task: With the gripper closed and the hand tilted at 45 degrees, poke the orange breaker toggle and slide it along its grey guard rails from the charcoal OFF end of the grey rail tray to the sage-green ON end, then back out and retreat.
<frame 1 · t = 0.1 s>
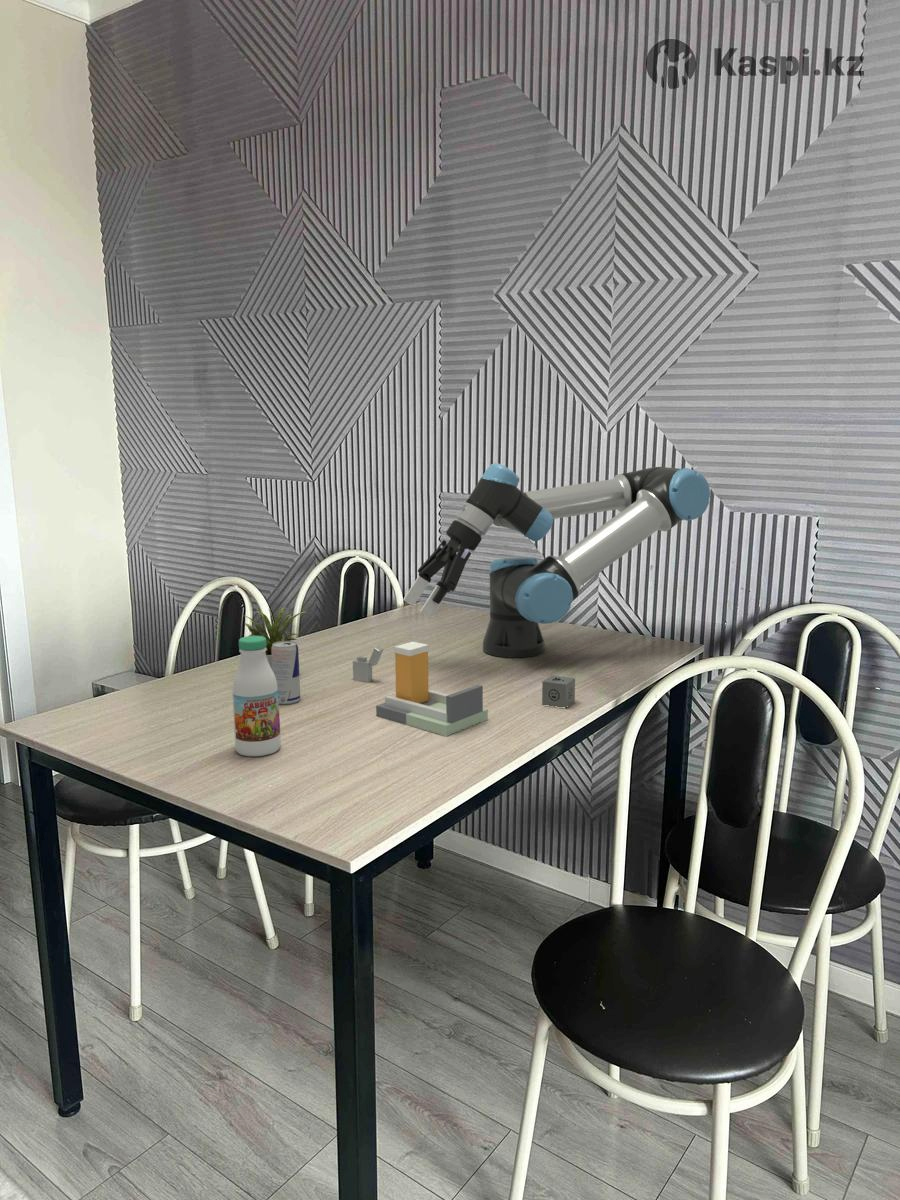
hand: (416, 608, 195), 15 cm above the table, tool tilted 35°, fingers open, 13 cm apart
house plant: (279, 677, 199), on the table
grey rail tray: (412, 712, 174), on the table
milk bottle: (258, 750, 155), on the table
breaker toggle: (412, 673, 172), point 8 cm above the table, slide at 0.0 cm
energy drink: (287, 701, 182), on the table
lighter: (368, 681, 195), on the table
dice cube: (558, 704, 178), on the table
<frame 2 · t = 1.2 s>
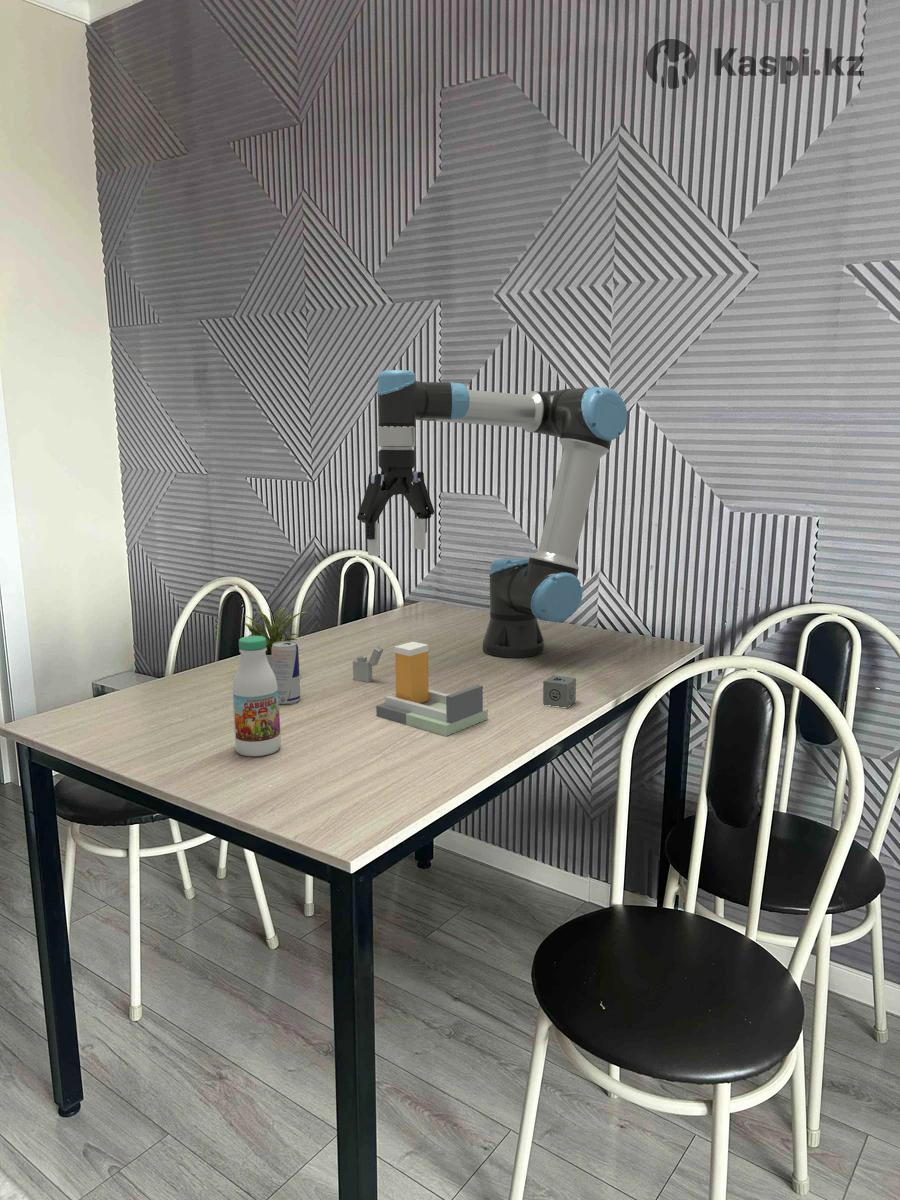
hand: (397, 552, 185), 29 cm above the table, tool pointing down, fingers open, 13 cm apart
nothing on the table moved.
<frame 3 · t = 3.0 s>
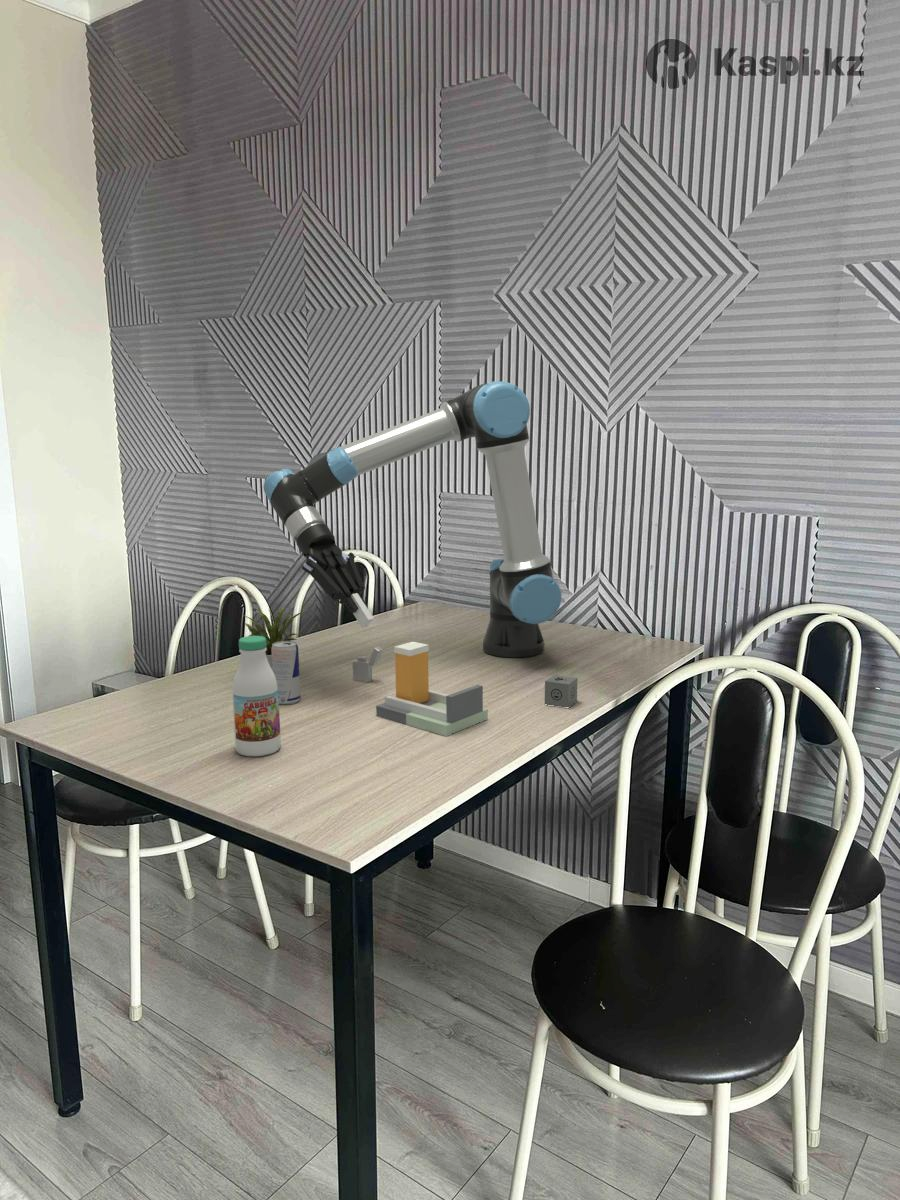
hand: (367, 622, 178), 16 cm above the table, tool tilted 45°, fingers closed
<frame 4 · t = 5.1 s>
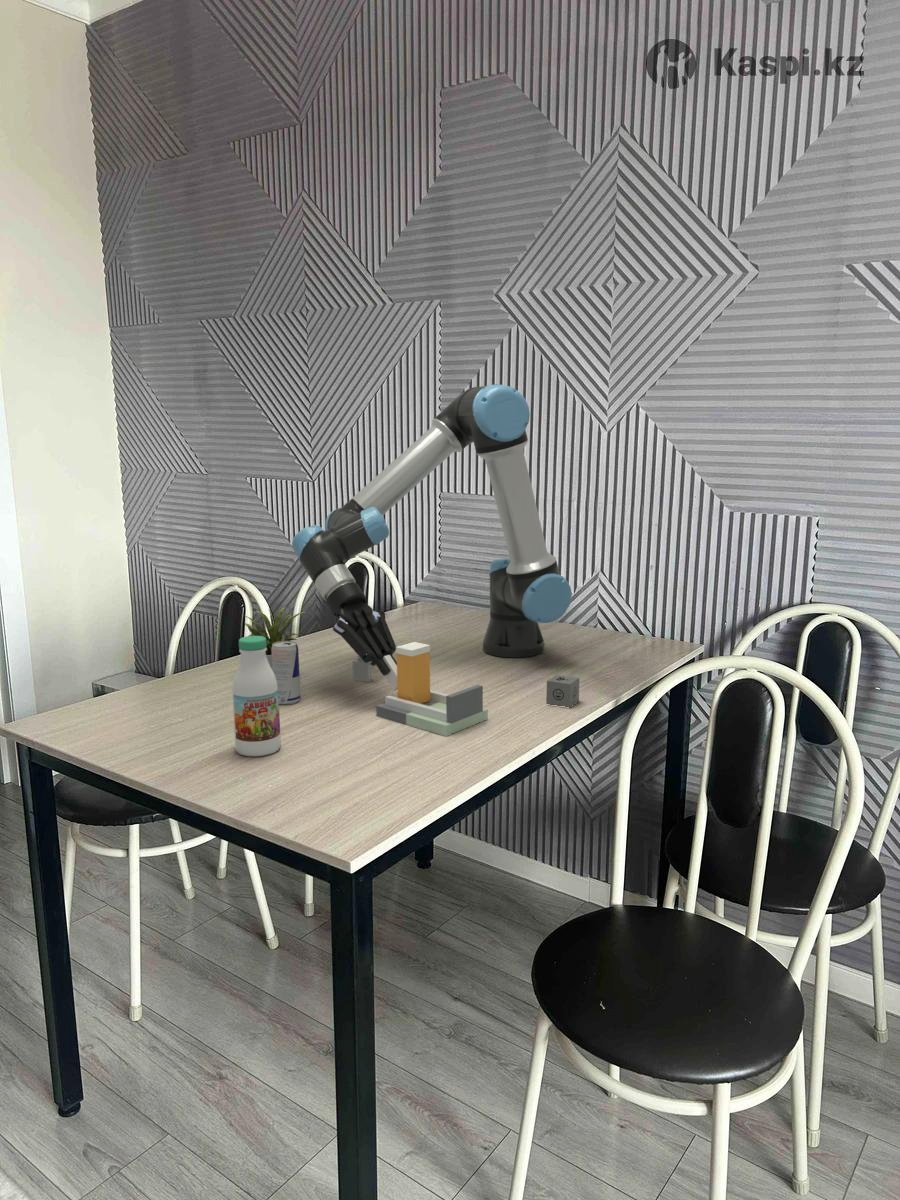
hand: (400, 685, 174), 5 cm above the table, tool tilted 45°, fingers closed
breaker toggle: (413, 674, 172), point 8 cm above the table, slide at 0.4 cm, touching gripper
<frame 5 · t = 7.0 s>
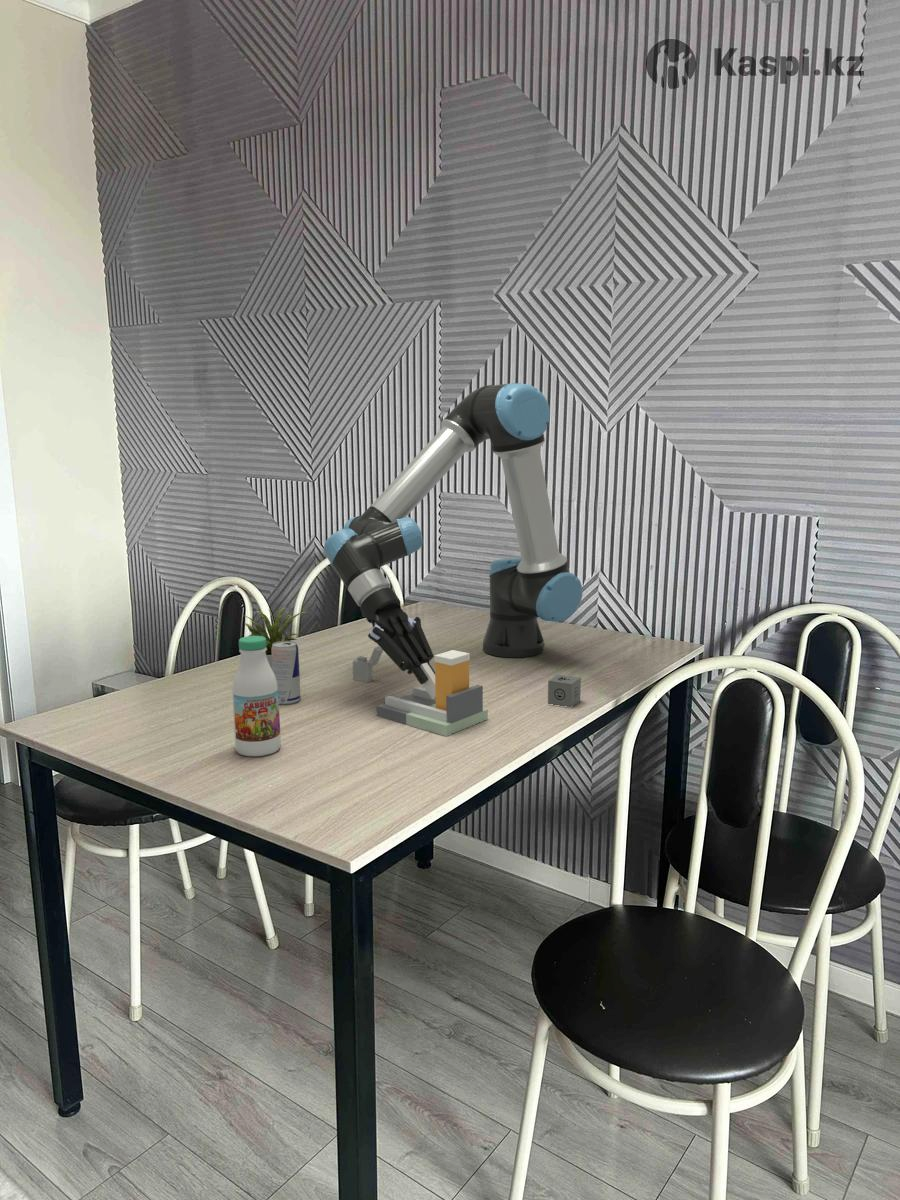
hand: (438, 694, 168), 5 cm above the table, tool tilted 45°, fingers closed
breaker toggle: (452, 683, 166), point 8 cm above the table, slide at 10.4 cm, touching gripper
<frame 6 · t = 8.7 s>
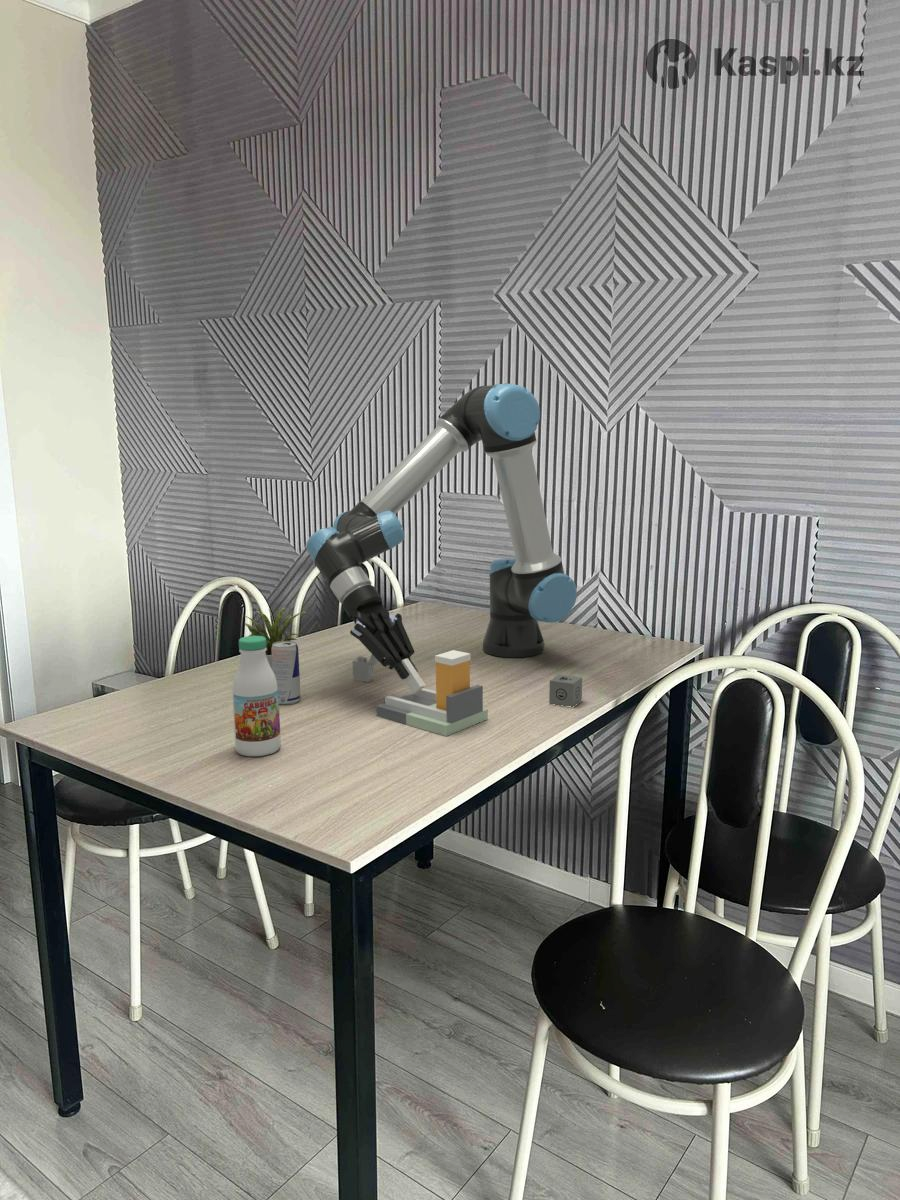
hand: (419, 689, 172), 5 cm above the table, tool tilted 45°, fingers closed
breaker toggle: (453, 683, 165), point 8 cm above the table, slide at 10.5 cm
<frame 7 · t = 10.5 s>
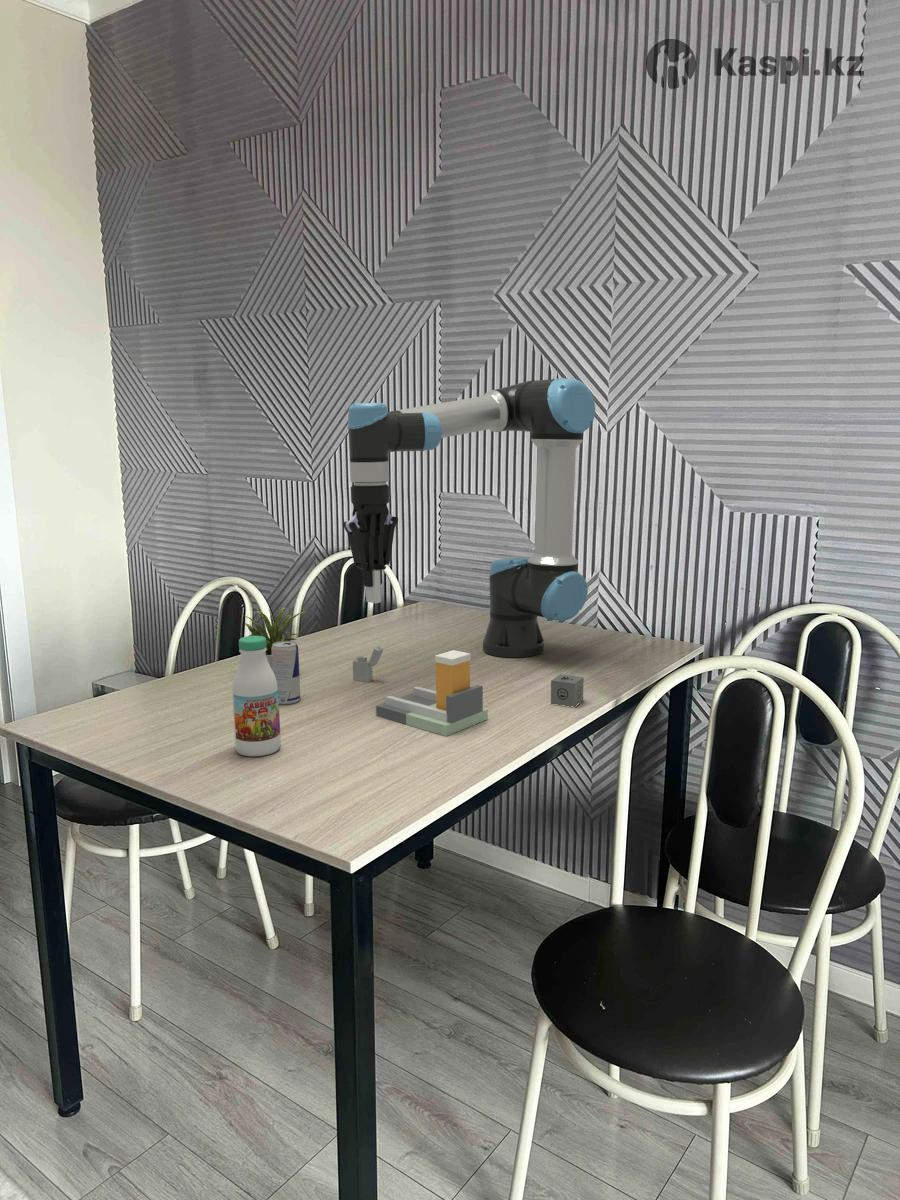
hand: (373, 601, 178), 20 cm above the table, tool pointing down, fingers closed
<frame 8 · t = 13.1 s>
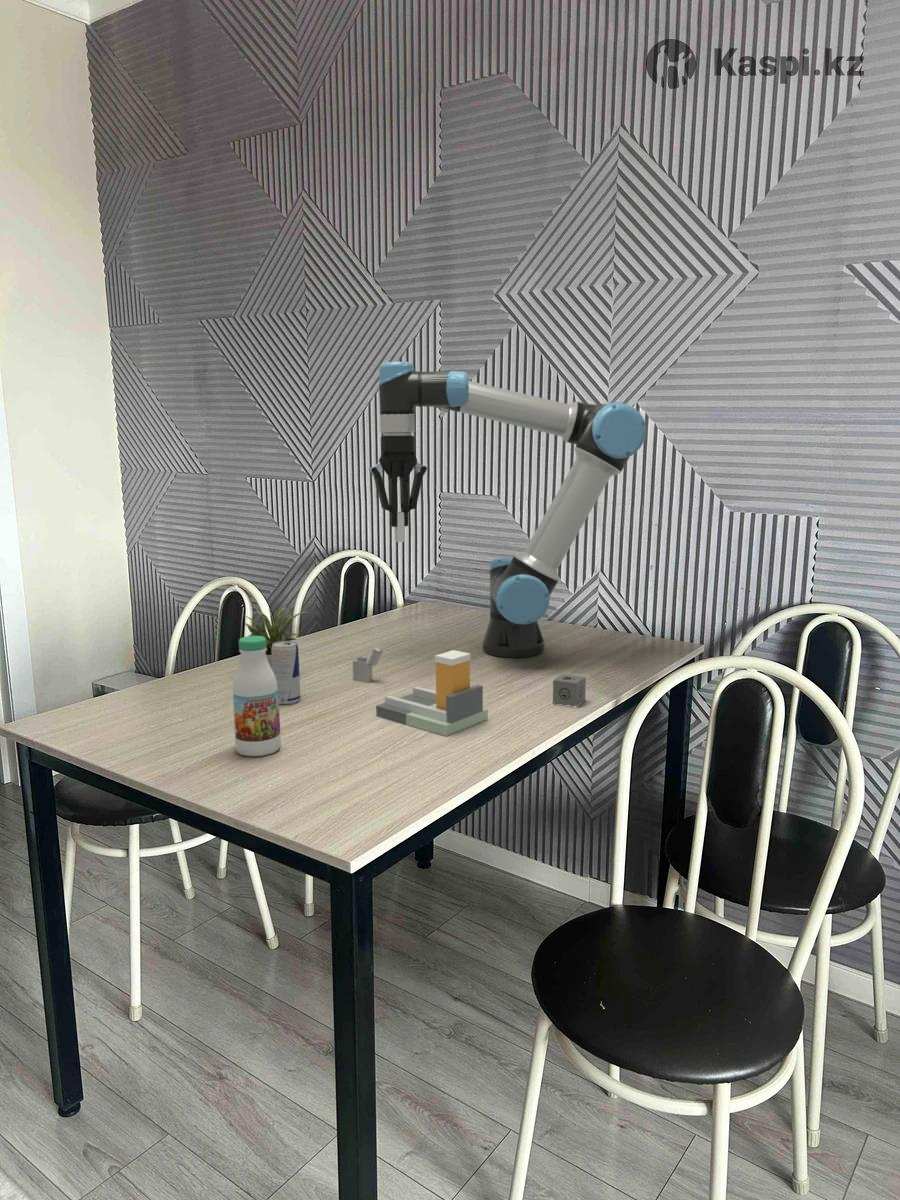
hand: (399, 541, 200), 29 cm above the table, tool pointing down, fingers closed
at the end: breaker toggle slide at 10.5 cm; breaker toggle touching nothing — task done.
